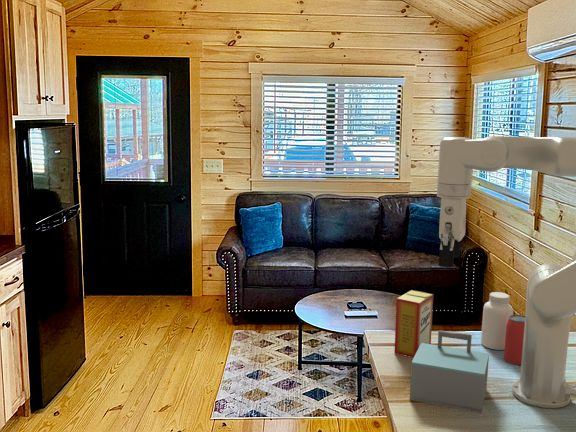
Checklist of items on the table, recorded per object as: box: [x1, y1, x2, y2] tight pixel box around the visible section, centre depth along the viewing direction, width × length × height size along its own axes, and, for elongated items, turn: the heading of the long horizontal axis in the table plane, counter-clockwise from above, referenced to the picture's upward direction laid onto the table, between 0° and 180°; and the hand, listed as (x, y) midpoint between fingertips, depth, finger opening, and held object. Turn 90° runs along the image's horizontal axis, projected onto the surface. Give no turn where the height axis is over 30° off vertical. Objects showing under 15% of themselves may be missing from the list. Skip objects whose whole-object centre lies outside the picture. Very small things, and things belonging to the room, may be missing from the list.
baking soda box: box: [394, 289, 434, 359], centre depth 167 cm, size 10×6×16 cm
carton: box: [409, 357, 490, 414], centre depth 142 cm, size 16×12×9 cm
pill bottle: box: [480, 291, 514, 351], centre depth 171 cm, size 8×8×15 cm
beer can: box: [503, 314, 525, 366], centre depth 161 cm, size 7×7×12 cm
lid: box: [410, 329, 490, 377], centre depth 141 cm, size 16×12×5 cm
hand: (449, 261), depth 144 cm, fingers open, 9 cm apart
